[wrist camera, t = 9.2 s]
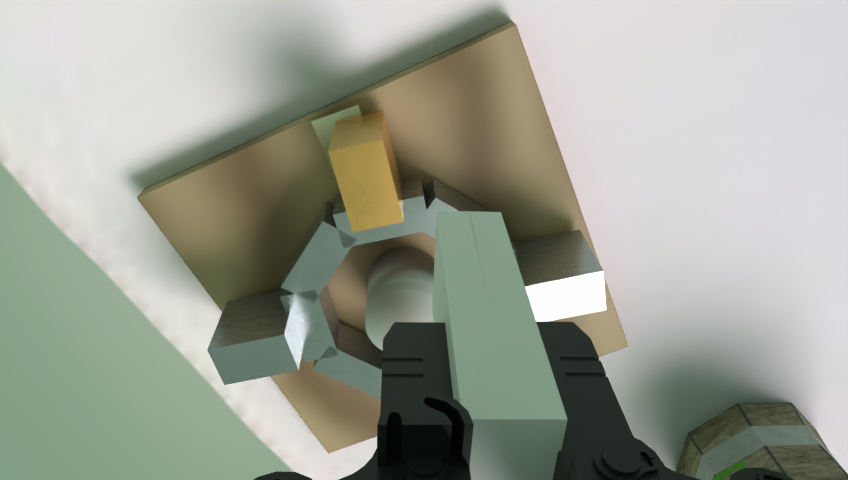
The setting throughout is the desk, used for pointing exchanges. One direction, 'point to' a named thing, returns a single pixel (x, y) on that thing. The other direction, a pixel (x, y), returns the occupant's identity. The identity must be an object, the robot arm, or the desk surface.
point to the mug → (758, 445)
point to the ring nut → (363, 223)
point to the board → (395, 257)
